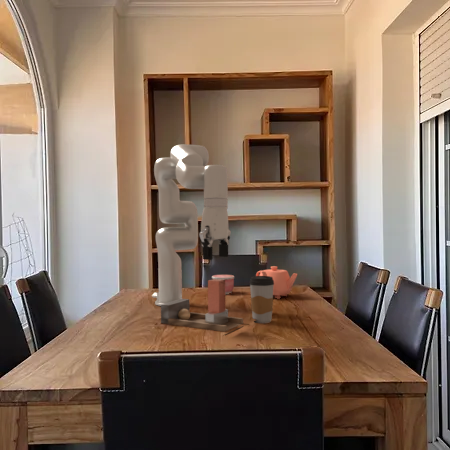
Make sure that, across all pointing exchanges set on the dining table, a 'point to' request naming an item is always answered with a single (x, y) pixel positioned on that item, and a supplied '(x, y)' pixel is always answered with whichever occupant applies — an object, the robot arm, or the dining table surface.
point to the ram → (216, 302)
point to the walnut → (184, 314)
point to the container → (226, 282)
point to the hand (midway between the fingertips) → (215, 258)
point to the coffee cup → (262, 298)
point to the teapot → (279, 280)
